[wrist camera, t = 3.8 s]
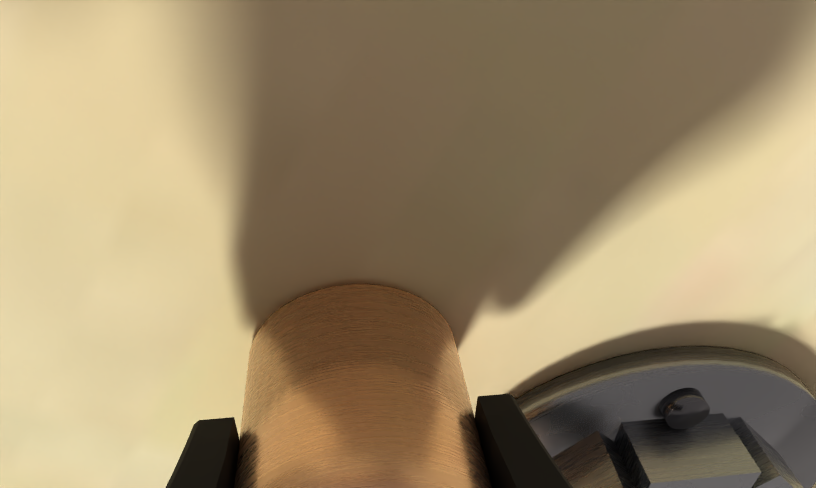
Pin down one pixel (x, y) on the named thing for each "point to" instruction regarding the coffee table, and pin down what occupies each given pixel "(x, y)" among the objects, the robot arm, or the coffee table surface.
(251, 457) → the pipe stub
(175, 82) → the coffee table surface
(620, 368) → the flange
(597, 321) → the coffee table surface
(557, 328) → the coffee table surface
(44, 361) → the coffee table surface
